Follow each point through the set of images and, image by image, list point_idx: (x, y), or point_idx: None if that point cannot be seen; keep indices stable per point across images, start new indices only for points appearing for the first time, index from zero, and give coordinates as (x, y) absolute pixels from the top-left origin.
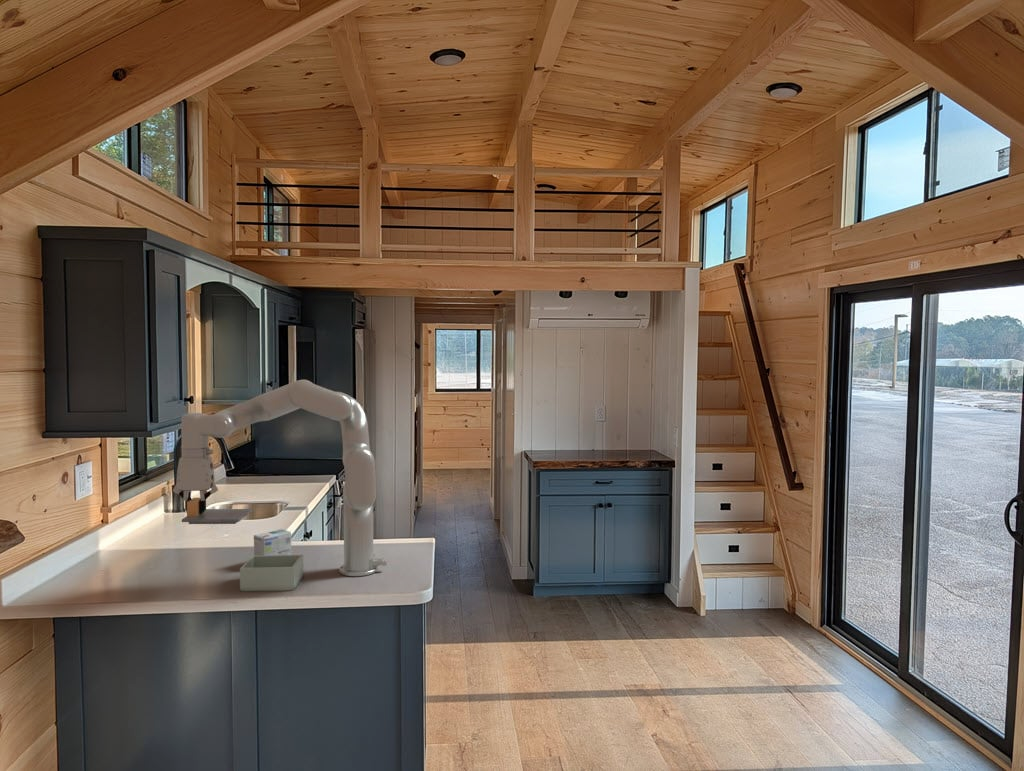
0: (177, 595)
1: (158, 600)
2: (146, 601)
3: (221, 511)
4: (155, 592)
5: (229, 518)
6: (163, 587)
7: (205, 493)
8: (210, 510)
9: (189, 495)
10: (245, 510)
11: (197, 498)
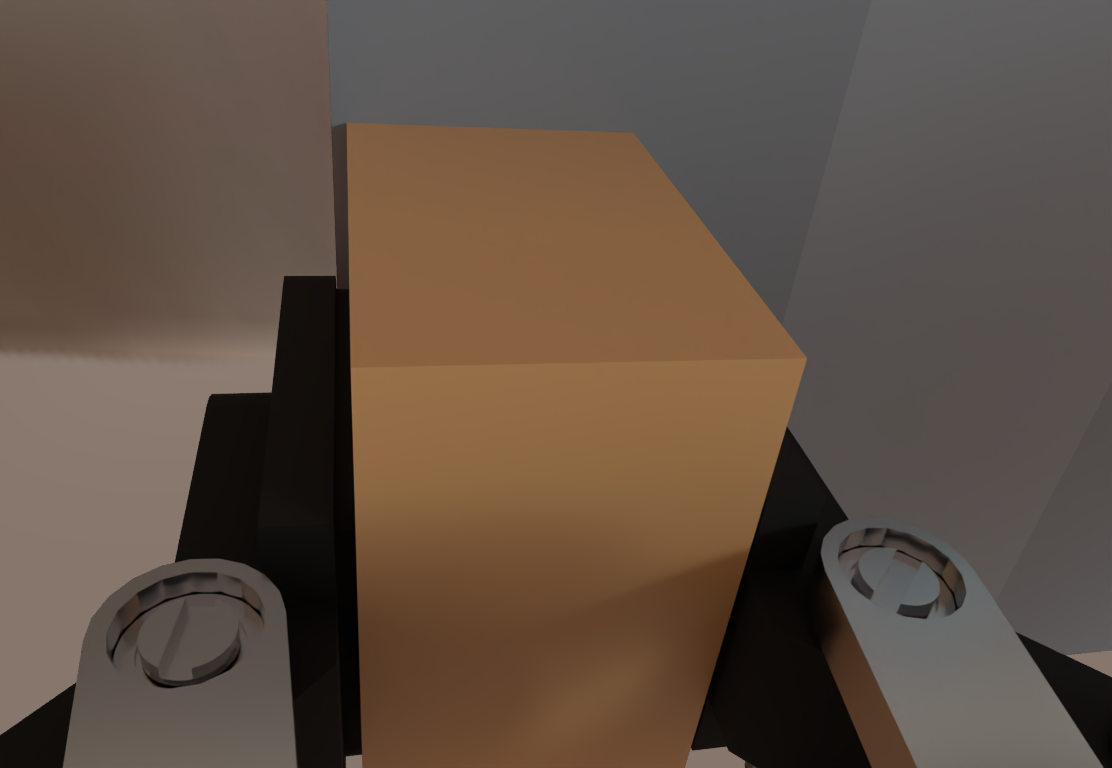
0: (328, 232)
1: (227, 323)
2: (142, 337)
3: (1055, 117)
4: (90, 144)
5: (1099, 620)
6: (85, 7)
7: (987, 752)
8: None
9: (254, 751)
10: None
11: (564, 518)
